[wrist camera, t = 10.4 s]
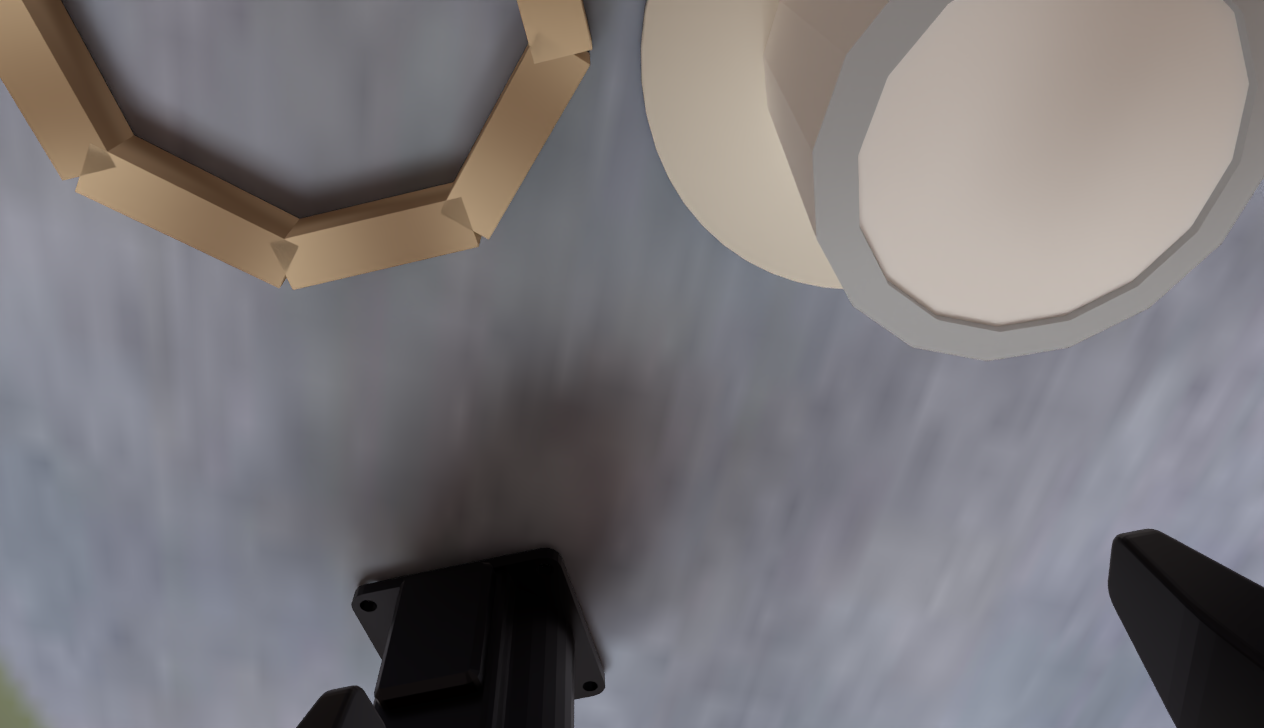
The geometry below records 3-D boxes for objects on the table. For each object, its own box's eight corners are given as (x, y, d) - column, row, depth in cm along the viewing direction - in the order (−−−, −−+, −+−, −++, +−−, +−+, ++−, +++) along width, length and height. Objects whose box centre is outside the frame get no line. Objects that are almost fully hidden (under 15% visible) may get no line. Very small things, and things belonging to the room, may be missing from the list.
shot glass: (931, 253, 20) (1079, 418, 14) (679, 140, 18) (727, 275, 12) (1124, -31, 17) (1416, 28, 11) (842, -199, 15) (1011, -235, 9)
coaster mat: (1125, 227, 21) (1134, 233, 20) (690, 324, 21) (692, 331, 21) (1179, -333, 15) (1193, -337, 15) (584, -175, 16) (585, -175, 15)
